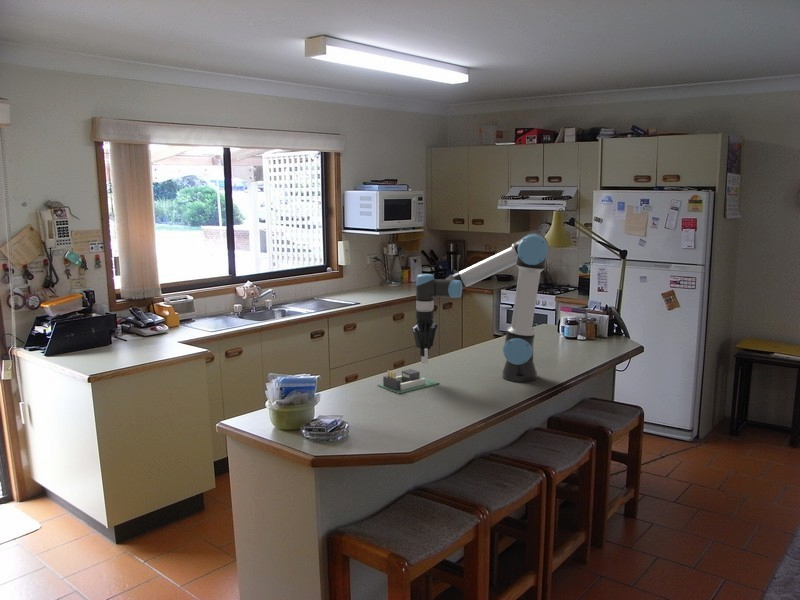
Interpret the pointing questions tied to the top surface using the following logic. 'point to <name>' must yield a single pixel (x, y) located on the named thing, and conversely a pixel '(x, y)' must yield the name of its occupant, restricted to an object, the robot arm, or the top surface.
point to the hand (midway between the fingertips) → (424, 363)
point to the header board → (427, 383)
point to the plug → (410, 375)
